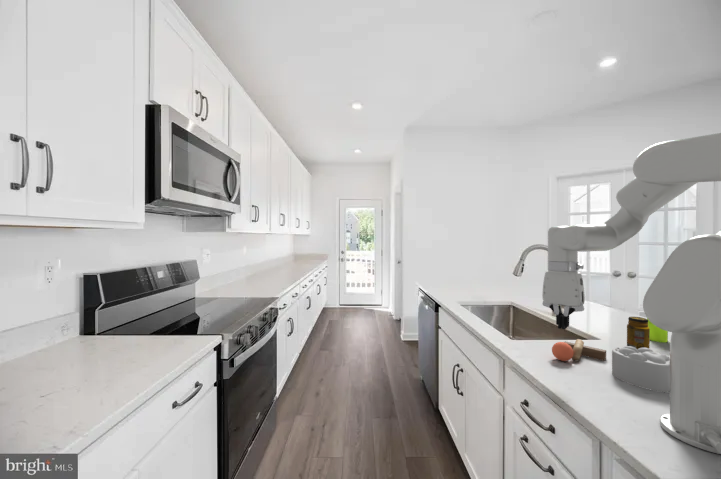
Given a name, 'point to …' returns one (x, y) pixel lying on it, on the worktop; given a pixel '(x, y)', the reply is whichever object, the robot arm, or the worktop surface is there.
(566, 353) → the ball
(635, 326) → the condiment
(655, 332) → the soap dispenser
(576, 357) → the pin
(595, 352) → the wall
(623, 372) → the paw print mold
